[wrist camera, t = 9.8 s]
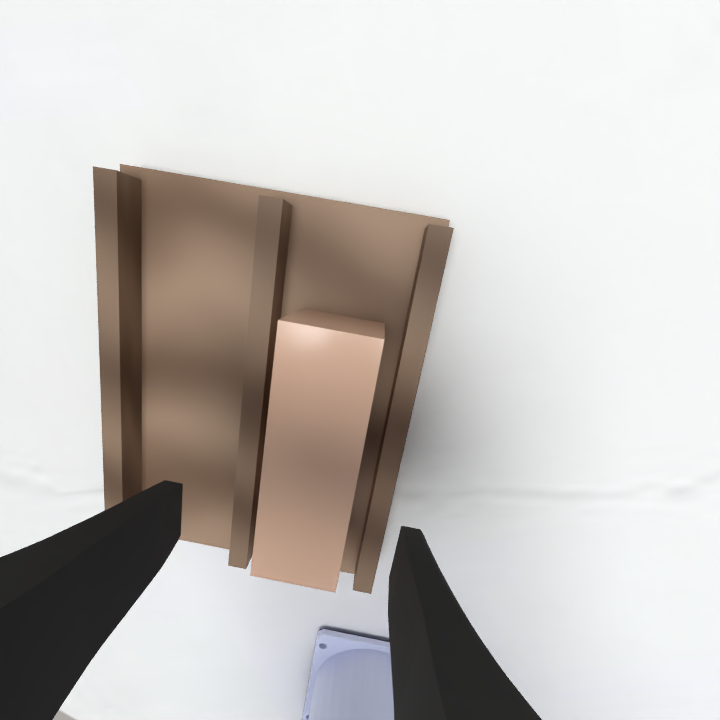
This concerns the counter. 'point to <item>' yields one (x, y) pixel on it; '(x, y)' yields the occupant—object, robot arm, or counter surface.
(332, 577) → the peach rectangular block
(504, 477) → the counter surface
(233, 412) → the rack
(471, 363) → the counter surface
